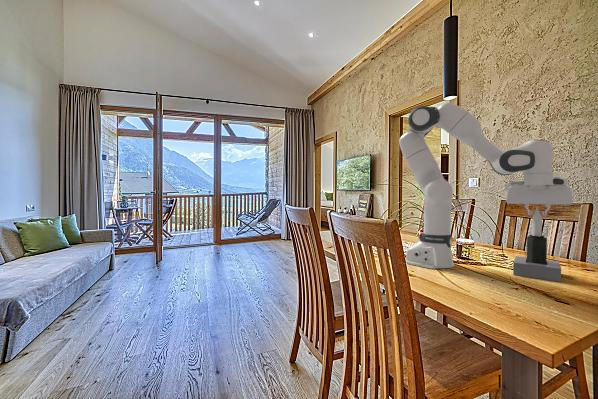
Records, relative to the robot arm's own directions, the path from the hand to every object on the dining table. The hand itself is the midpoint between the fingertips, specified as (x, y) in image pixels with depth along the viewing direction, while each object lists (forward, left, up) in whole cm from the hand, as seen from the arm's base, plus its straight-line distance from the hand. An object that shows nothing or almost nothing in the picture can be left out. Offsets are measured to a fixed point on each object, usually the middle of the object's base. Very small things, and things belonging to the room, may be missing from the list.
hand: (537, 215), depth 113 cm
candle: (0, 0, -22) cm, 22 cm away
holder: (0, 0, -24) cm, 24 cm away
